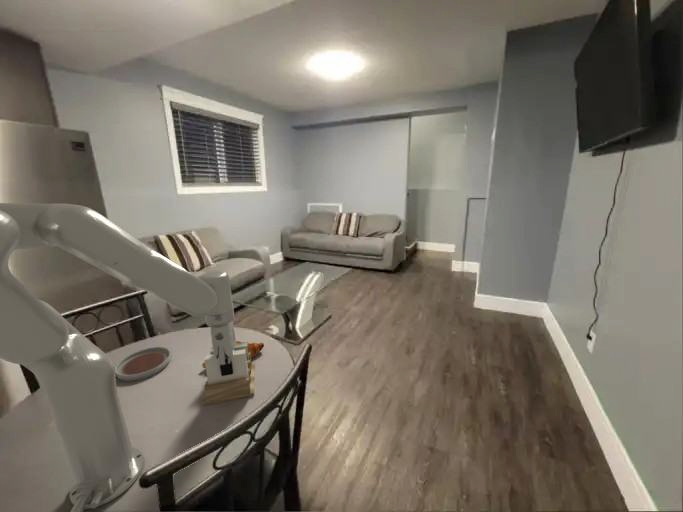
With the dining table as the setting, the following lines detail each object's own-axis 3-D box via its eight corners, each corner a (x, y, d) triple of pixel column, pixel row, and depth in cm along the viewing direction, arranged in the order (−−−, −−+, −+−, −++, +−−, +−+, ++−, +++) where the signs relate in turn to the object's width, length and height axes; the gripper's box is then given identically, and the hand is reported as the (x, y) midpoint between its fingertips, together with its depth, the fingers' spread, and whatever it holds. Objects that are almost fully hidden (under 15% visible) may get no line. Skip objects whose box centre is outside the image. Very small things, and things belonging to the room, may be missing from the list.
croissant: (206, 384, 95) (204, 372, 90) (199, 358, 101) (197, 346, 96) (267, 360, 106) (269, 348, 102) (258, 338, 112) (259, 326, 107)
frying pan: (70, 372, 93) (167, 340, 110) (72, 379, 94) (168, 346, 111) (64, 402, 81) (175, 361, 97) (67, 410, 81) (177, 368, 98)
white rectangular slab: (248, 380, 86) (245, 353, 83) (209, 388, 83) (204, 360, 80) (248, 375, 88) (245, 349, 85) (210, 383, 85) (205, 355, 82)
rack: (254, 395, 85) (250, 365, 82) (203, 405, 82) (198, 374, 79) (254, 364, 99) (252, 338, 96) (211, 372, 95) (207, 344, 93)
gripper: (231, 327, 73) (239, 387, 78) (236, 301, 88) (242, 353, 93) (199, 331, 71) (210, 393, 76) (209, 305, 86) (218, 357, 91)
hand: (227, 370), depth 84 cm, fingers closed on white rectangular slab, 2 cm apart
